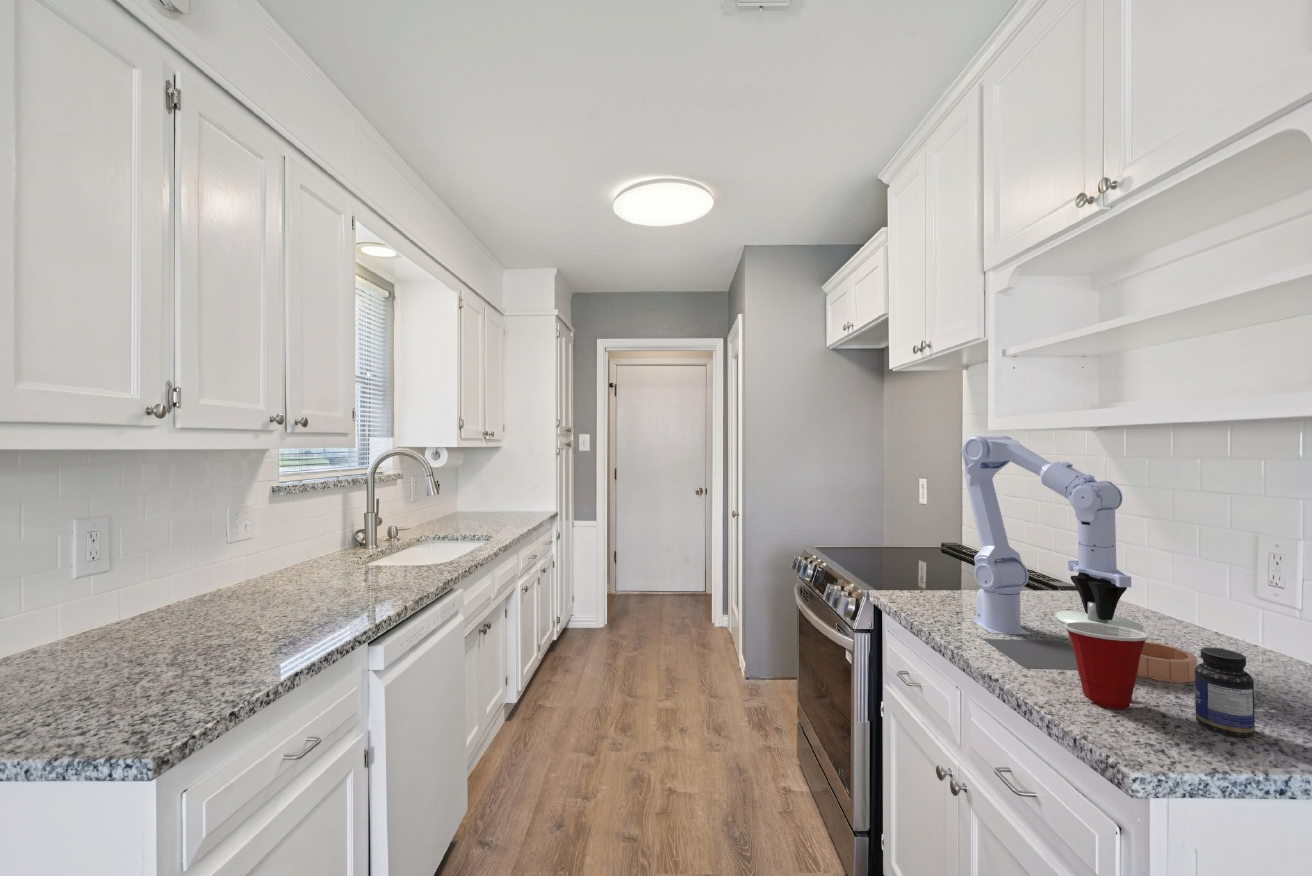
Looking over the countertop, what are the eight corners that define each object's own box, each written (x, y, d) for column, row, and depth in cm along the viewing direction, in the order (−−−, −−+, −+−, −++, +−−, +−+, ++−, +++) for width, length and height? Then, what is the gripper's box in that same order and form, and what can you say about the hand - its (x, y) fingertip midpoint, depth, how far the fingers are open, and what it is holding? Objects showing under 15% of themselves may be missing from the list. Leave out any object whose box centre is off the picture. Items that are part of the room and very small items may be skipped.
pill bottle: (1198, 714, 86) (1196, 642, 87) (1256, 729, 82) (1254, 653, 82) (1193, 727, 82) (1191, 652, 82) (1254, 743, 78) (1252, 663, 78)
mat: (982, 641, 119) (982, 638, 119) (1061, 643, 118) (1061, 640, 118) (1025, 670, 103) (1025, 668, 103) (1117, 673, 102) (1117, 670, 102)
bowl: (1101, 660, 108) (1100, 639, 108) (1162, 661, 107) (1161, 640, 107) (1145, 683, 97) (1145, 660, 98) (1213, 685, 96) (1213, 662, 97)
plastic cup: (1127, 690, 95) (1125, 619, 95) (1166, 721, 84) (1164, 640, 85) (1053, 684, 98) (1052, 615, 98) (1082, 712, 87) (1080, 635, 87)
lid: (1041, 613, 114) (1041, 593, 114) (1110, 615, 112) (1110, 595, 112) (1083, 634, 101) (1083, 611, 101) (1162, 637, 99) (1161, 614, 99)
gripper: (1051, 538, 114) (1053, 605, 114) (1100, 551, 100) (1102, 628, 100) (1088, 539, 114) (1090, 606, 113) (1143, 551, 99) (1145, 629, 99)
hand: (1098, 616), depth 106 cm, fingers closed on lid, 3 cm apart
